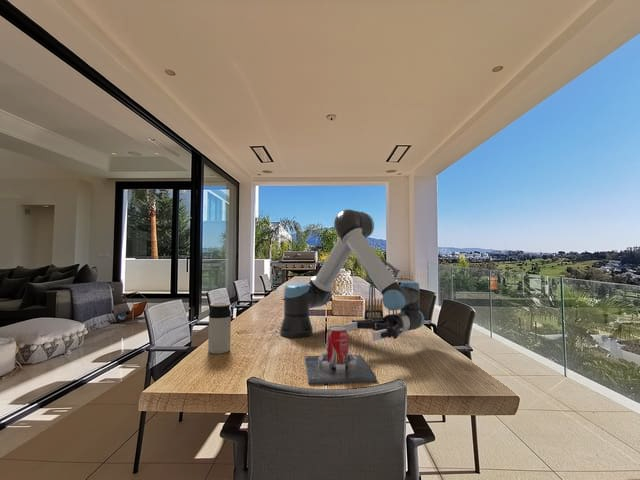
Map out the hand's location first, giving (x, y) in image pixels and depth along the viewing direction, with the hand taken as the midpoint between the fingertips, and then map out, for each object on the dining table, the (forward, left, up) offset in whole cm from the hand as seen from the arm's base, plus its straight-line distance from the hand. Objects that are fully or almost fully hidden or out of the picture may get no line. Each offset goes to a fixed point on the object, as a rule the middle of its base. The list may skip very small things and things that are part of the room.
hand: (358, 332), depth 109 cm
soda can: (-8, -6, -9) cm, 13 cm away
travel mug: (-50, +17, -11) cm, 54 cm away
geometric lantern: (+22, +46, -11) cm, 53 cm away
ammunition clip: (+25, +71, -11) cm, 76 cm away
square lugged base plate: (-8, -6, -11) cm, 14 cm away
